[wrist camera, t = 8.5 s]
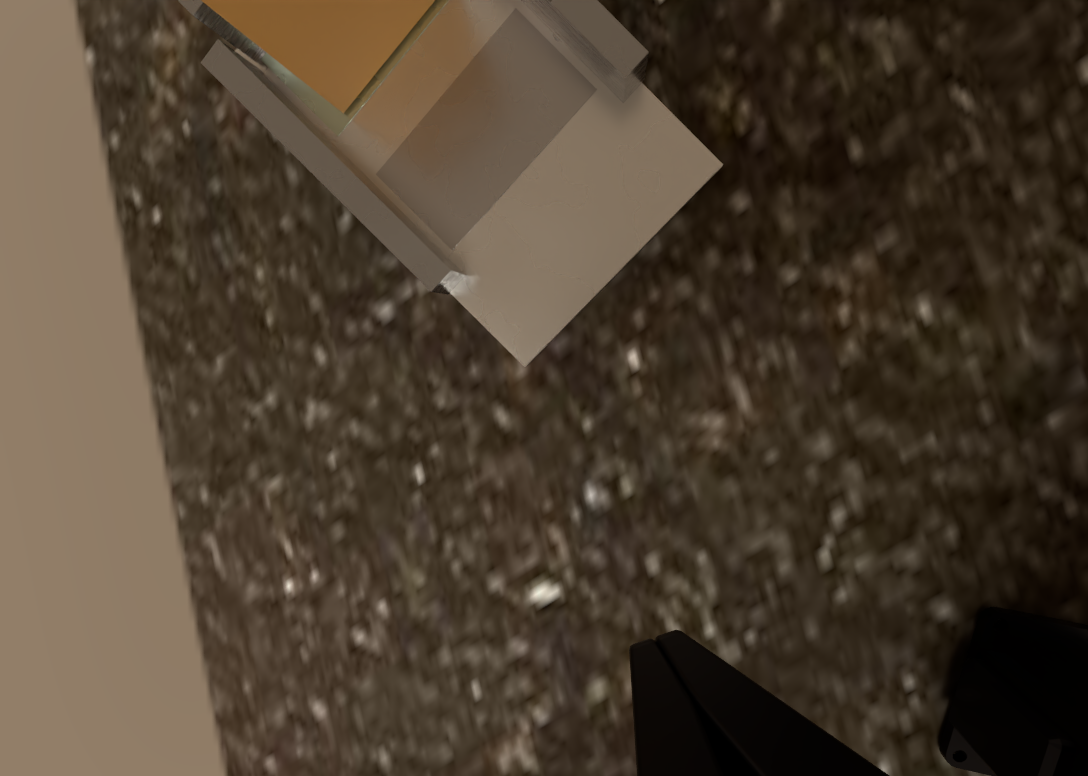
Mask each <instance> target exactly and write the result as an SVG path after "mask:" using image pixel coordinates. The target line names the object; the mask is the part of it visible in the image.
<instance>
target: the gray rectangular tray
mask: <svg viewBox="0 0 1088 776" xmlns="http://www.w3.org/2000/svg"><path fill="white" fill-rule="evenodd" d="M178 1H179V2H180V3H181V4H182V5H183V6H184V7H185V8H186V9H187V10H188V11H189V12H190V13H191V14H192V15H193V16H194V17H196V18H197V19H198V20H200V21H201V22H203V23H204V24H205V25H207V26H208V27H209V28H211V29H212V30H213V31H215V32H216V33H217V34H219V35H220V36H221V37H223V38H224V39H225V40H227V41H228V42H229V43H231V44H232V45H234V46H235V47H236V48H237V49H236V50H235V51H234V50H233V49H231V48H230V47H229V46H227V45H226V44H224V43H223V42H222V41H220V40H219V39H218V40H217V41H216V43H215V44H214V45H213V47H212V48H211V49H210V51H209V52H208V53H207V55H206V56H205V58H204V59H203V60H202V62H201V63H202V64H203V65H204V66H205V67H206V68H207V69H208V70H209V71H210V72H211V73H212V74H213V75H214V76H215V77H216V78H217V79H218V80H219V81H220V82H221V83H222V84H223V85H224V86H225V87H226V88H227V89H228V90H229V91H230V92H231V93H232V94H233V95H234V96H235V97H236V98H237V99H238V100H239V101H240V102H241V103H242V104H243V105H244V106H245V107H246V108H247V109H248V110H249V111H250V112H251V113H252V114H253V115H254V116H255V117H256V118H257V119H258V120H259V121H260V122H261V123H262V124H263V125H264V126H265V127H266V128H267V129H268V130H269V131H270V132H271V133H272V134H273V135H274V136H275V137H276V138H277V139H278V140H279V141H280V142H281V143H282V144H283V145H284V146H285V147H286V148H287V149H288V150H289V151H290V152H291V153H292V154H293V155H294V156H295V157H296V158H297V159H298V160H299V161H300V162H301V163H302V164H303V165H304V166H305V167H306V168H307V169H308V170H309V171H310V172H311V173H312V174H313V175H314V176H315V177H316V178H317V179H318V180H319V181H320V182H321V183H322V184H323V185H324V186H325V187H326V188H327V189H328V190H329V191H330V192H331V193H332V194H333V195H334V196H335V197H336V198H337V199H338V200H339V201H340V202H341V203H342V204H343V205H344V206H345V207H346V208H347V209H348V210H349V211H350V212H352V213H353V214H354V215H355V216H356V217H357V218H358V219H359V220H360V221H361V222H362V223H363V224H364V225H365V226H366V227H367V228H368V229H369V230H370V231H371V232H372V233H373V234H374V235H375V236H376V237H377V238H378V239H379V240H380V241H381V242H382V243H383V244H384V245H385V246H386V247H387V248H388V249H389V250H390V251H391V252H392V253H393V254H394V255H395V256H396V257H397V258H398V259H399V260H400V261H401V262H402V263H403V264H404V265H405V266H406V267H407V268H408V269H409V270H410V271H411V272H412V273H413V274H414V275H415V276H416V277H417V278H418V279H419V280H420V281H421V282H422V283H423V284H424V285H425V286H426V287H427V288H428V289H429V290H430V291H431V292H436V293H442V294H449V293H451V294H452V295H453V296H454V297H455V298H456V299H457V300H458V301H459V302H460V303H461V304H462V305H463V306H464V307H465V308H466V309H467V310H468V311H469V312H470V313H471V314H472V315H473V316H474V317H475V318H476V319H477V320H478V321H479V322H480V323H481V324H482V325H483V326H484V327H485V328H486V329H487V330H488V331H489V332H490V333H491V334H492V335H493V336H494V337H495V338H496V339H497V340H498V341H499V342H500V343H501V344H502V345H503V346H504V347H505V348H506V349H507V350H508V351H509V352H510V353H511V354H512V355H513V356H514V357H515V358H516V359H517V360H518V361H519V362H520V363H521V364H522V365H523V366H524V367H526V366H528V365H529V364H530V363H531V362H532V361H533V360H534V359H535V358H536V357H537V356H538V354H539V353H540V352H541V351H542V350H543V349H544V348H545V347H546V346H547V345H548V344H549V343H550V342H551V341H552V340H553V339H554V338H555V337H556V336H557V335H558V334H559V333H560V332H561V331H562V330H563V329H564V328H565V327H566V326H567V325H568V324H569V323H570V322H571V321H572V320H573V319H574V318H575V317H576V316H577V315H578V314H579V313H580V312H581V311H582V310H583V309H584V308H585V307H586V306H587V305H588V303H589V302H590V301H591V300H592V299H593V298H594V297H595V296H596V295H597V294H598V293H599V292H600V291H601V290H602V289H603V288H604V287H605V286H606V285H607V284H608V283H609V282H610V281H611V280H612V279H613V278H614V277H615V276H616V275H617V274H618V273H619V272H620V271H621V270H622V269H623V268H624V267H625V266H626V265H627V264H628V263H629V262H630V261H631V260H632V259H633V258H634V257H635V256H636V255H637V253H638V252H639V251H640V250H641V249H642V248H643V247H644V246H645V245H646V244H647V243H648V242H649V241H650V240H651V239H652V238H653V237H654V236H655V235H656V234H657V233H658V232H659V231H660V230H661V229H662V228H663V227H664V226H665V225H666V224H667V223H668V222H669V221H670V220H671V219H672V218H673V217H674V216H675V215H676V214H677V213H678V212H679V211H680V210H681V209H682V208H683V207H684V206H685V205H686V204H687V202H688V201H689V200H690V199H691V198H692V197H693V196H694V195H695V194H696V193H697V192H698V191H699V190H700V189H701V188H702V187H703V186H704V185H705V184H706V183H707V182H708V181H709V180H710V179H711V178H712V177H713V176H714V175H715V174H716V173H717V172H718V171H719V170H720V168H721V167H722V166H723V164H722V163H721V162H720V161H719V160H718V159H717V158H716V157H715V156H714V155H713V154H712V153H711V152H710V151H709V150H708V149H707V148H706V147H705V146H704V145H703V144H702V143H701V142H700V141H699V140H698V139H697V138H696V137H695V136H694V135H693V134H692V133H691V132H690V131H689V130H688V129H687V128H686V127H685V126H684V125H683V124H682V123H681V122H680V121H679V120H678V119H677V118H676V117H675V116H674V115H673V114H672V113H671V112H670V111H669V110H668V109H667V108H666V107H665V106H664V105H663V103H662V102H661V101H660V100H659V99H658V98H657V97H656V96H655V95H654V94H653V93H652V92H651V91H650V90H649V89H648V88H647V87H646V86H645V85H644V84H643V83H642V82H643V81H644V78H645V72H646V66H647V60H648V54H649V52H648V51H647V50H646V49H645V48H644V47H643V46H642V45H641V44H640V43H639V42H638V41H637V40H636V39H635V38H634V37H633V36H632V35H631V34H630V33H629V32H628V31H627V30H626V29H625V28H624V27H623V26H622V24H621V23H620V22H619V21H618V20H617V19H616V18H615V17H614V16H613V15H612V14H611V13H610V12H609V11H608V10H607V9H606V8H605V7H604V6H603V5H602V4H601V3H600V2H599V1H598V0H435V1H434V2H433V4H432V5H431V6H430V7H429V8H428V10H427V11H426V12H425V13H424V15H423V16H422V17H421V18H420V20H419V21H418V22H417V23H416V25H415V26H414V27H413V28H412V29H411V31H410V32H409V33H408V34H407V36H406V37H405V38H404V39H403V41H402V42H401V43H400V44H399V46H398V47H397V48H396V49H395V50H394V52H393V53H392V54H391V55H390V57H389V58H388V59H387V60H386V62H385V63H384V64H383V65H382V67H381V68H380V69H379V70H378V71H377V73H376V74H375V75H374V76H373V78H372V79H371V80H370V81H369V83H368V84H367V85H366V86H365V88H364V89H363V90H362V91H361V93H360V94H359V95H358V96H357V97H356V99H355V100H354V101H353V102H352V104H351V105H350V106H349V107H348V109H347V110H346V111H345V112H344V114H343V113H342V112H341V111H340V110H338V109H337V108H336V107H335V106H333V105H332V104H331V103H330V102H328V101H327V100H326V99H324V98H323V97H322V96H321V95H319V94H318V93H317V92H316V91H314V90H313V89H312V88H311V87H309V86H308V85H307V84H306V83H304V82H303V81H302V80H301V79H299V78H298V77H297V76H296V75H294V74H293V73H292V72H290V71H289V70H288V69H287V68H285V67H284V66H283V65H282V64H280V63H279V62H278V61H277V60H275V59H274V58H273V57H272V56H270V55H269V54H268V53H267V52H265V51H264V50H263V49H262V48H260V47H259V46H258V45H256V44H255V43H254V42H253V41H251V40H250V39H249V38H248V37H246V36H245V35H244V34H243V33H241V32H240V31H239V30H238V29H236V28H235V27H234V26H233V25H231V24H230V23H229V22H228V21H226V20H225V19H224V18H222V17H221V16H220V15H219V14H217V13H216V12H215V11H214V10H212V9H211V8H210V7H209V6H207V5H206V4H205V3H204V2H202V1H201V0H178Z"/></svg>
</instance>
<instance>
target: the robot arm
mask: <svg viewBox="0 0 1088 776" xmlns="http://www.w3.org/2000/svg"><path fill="white" fill-rule="evenodd" d="M998 619H1000V622H999V623H998V624H997V625H995V626H993V623H994V622H995V621H996V620H998ZM629 654H630V670H631V686H632V702H633V717H634V733H635V749H636V765H637V776H889V775H888V774H886V773H885V772H883V771H882V770H880V769H879V768H878V767H876V766H875V765H873V764H872V763H870V762H869V761H868V760H866V759H865V758H863V757H862V756H860V755H859V754H857V753H856V752H855V751H853V750H852V749H850V748H849V747H847V746H846V745H844V744H843V743H842V742H840V741H839V740H837V739H836V738H834V737H833V736H832V735H830V734H829V733H827V732H826V731H824V730H823V729H821V728H820V727H819V726H817V725H816V724H814V723H813V722H811V721H810V720H808V719H807V718H806V717H804V716H803V715H801V714H800V713H798V712H797V711H796V710H794V709H793V708H791V707H790V706H788V705H787V704H785V703H784V702H783V701H781V700H780V699H778V698H777V697H775V696H774V695H772V694H771V693H770V692H768V691H767V690H765V689H764V688H762V687H761V686H760V685H758V684H757V683H755V682H754V681H752V680H751V679H749V678H748V677H747V676H745V675H744V674H742V673H741V672H739V671H738V670H736V669H735V668H734V667H732V666H731V665H729V664H728V663H726V662H725V661H724V660H722V659H721V658H719V657H718V656H716V655H715V654H713V653H712V652H711V651H709V650H708V649H706V648H705V647H703V646H702V645H700V644H699V643H698V642H696V641H695V640H693V639H692V638H690V637H689V636H688V635H686V634H685V633H683V632H682V631H679V630H674V631H671V632H668V633H665V634H662V635H659V636H657V637H656V638H655V641H654V640H653V639H647V640H644V641H641V642H638V643H635V644H633V645H631V646H630V648H629ZM939 750H940V752H941V754H942V755H943V757H944V758H945V759H946V761H947V762H948V763H949V764H950V765H951V766H953V767H956V768H960V769H964V770H969V771H973V772H978V773H982V774H986V775H991V776H1088V625H1083V624H1078V623H1073V622H1068V621H1063V620H1058V619H1053V618H1048V617H1043V616H1038V615H1033V614H1028V613H1023V612H1018V611H1013V610H1008V609H1003V608H999V607H989V608H986V609H985V610H983V611H982V612H981V614H980V616H979V618H978V621H977V625H976V628H975V631H974V634H973V638H972V641H971V644H970V647H969V651H968V654H967V657H966V661H965V663H964V666H963V669H962V673H961V676H960V679H959V683H958V686H957V689H956V692H955V696H954V699H953V702H952V706H951V709H950V712H949V715H948V720H947V723H946V726H945V729H944V733H943V736H942V739H941V742H940V749H939ZM957 750H959V752H958V753H956V754H953V753H954V752H955V751H957Z"/></svg>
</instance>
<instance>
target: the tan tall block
mask: <svg viewBox="0 0 1088 776" xmlns="http://www.w3.org/2000/svg"><path fill="white" fill-rule="evenodd" d="M201 1H202V2H204V3H205V4H206V5H207V6H209V7H210V8H211V9H212V10H214V11H215V12H216V13H217V14H219V15H220V16H221V17H222V18H224V19H225V20H226V21H228V22H229V23H230V24H231V25H233V26H234V27H235V28H236V29H238V30H239V31H240V32H241V33H243V34H244V35H245V36H246V37H248V38H249V39H250V40H251V41H253V42H254V43H255V44H256V45H258V46H259V47H260V48H262V49H263V50H264V51H265V52H267V53H268V54H269V55H270V56H272V57H273V58H274V59H275V60H277V61H278V62H279V63H280V64H282V65H283V66H284V67H285V68H287V69H288V70H289V71H290V72H292V73H293V74H294V75H296V76H297V77H298V78H299V79H301V80H302V81H303V82H304V83H306V84H307V85H308V86H309V87H311V88H312V89H313V90H314V91H316V92H317V93H318V94H319V95H321V96H322V97H323V98H324V99H326V100H327V101H328V102H330V103H331V104H332V105H333V106H335V107H336V108H337V109H338V110H340V111H341V112H342V113H343V114H344V112H345V111H346V110H347V109H348V107H349V106H350V105H351V104H352V102H353V101H354V100H355V99H356V97H357V96H358V95H359V94H360V93H361V91H362V90H363V89H364V88H365V86H366V85H367V84H368V83H369V81H370V80H371V79H372V78H373V76H374V75H375V74H376V73H377V71H378V70H379V69H380V68H381V67H382V65H383V64H384V63H385V62H386V60H387V59H388V58H389V57H390V55H391V54H392V53H393V52H394V50H395V49H396V48H397V47H398V46H399V44H400V43H401V42H402V41H403V39H404V38H405V37H406V36H407V34H408V33H409V32H410V31H411V29H412V28H413V27H414V26H415V25H416V23H417V22H418V21H419V20H420V18H421V17H422V16H423V15H424V13H425V12H426V11H427V10H428V8H429V7H430V6H431V5H432V4H433V2H434V1H435V0H201Z"/></svg>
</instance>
